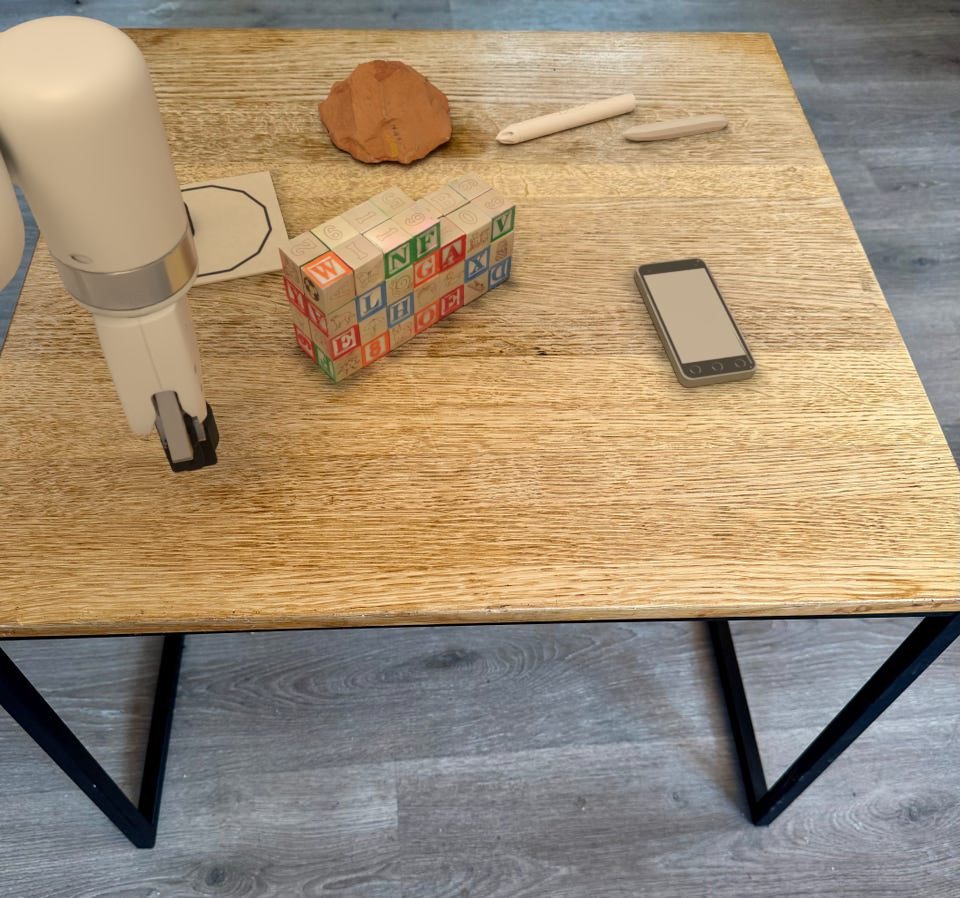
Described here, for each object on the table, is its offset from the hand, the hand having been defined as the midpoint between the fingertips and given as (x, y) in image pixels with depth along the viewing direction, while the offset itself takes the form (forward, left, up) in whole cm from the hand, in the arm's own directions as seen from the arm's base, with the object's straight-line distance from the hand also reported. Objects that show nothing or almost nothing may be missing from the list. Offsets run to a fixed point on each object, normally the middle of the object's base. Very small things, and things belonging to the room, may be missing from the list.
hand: (190, 438), depth 64 cm
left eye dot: (+1, +32, -8) cm, 33 cm away
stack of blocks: (+21, +16, -9) cm, 27 cm away
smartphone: (+47, +7, -9) cm, 48 cm away
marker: (+46, +39, -9) cm, 61 cm away
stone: (+26, +44, -9) cm, 52 cm away
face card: (+4, +32, -9) cm, 33 cm away
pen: (+58, +35, -9) cm, 68 cm away
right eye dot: (0, 0, 0) cm, 0 cm away
